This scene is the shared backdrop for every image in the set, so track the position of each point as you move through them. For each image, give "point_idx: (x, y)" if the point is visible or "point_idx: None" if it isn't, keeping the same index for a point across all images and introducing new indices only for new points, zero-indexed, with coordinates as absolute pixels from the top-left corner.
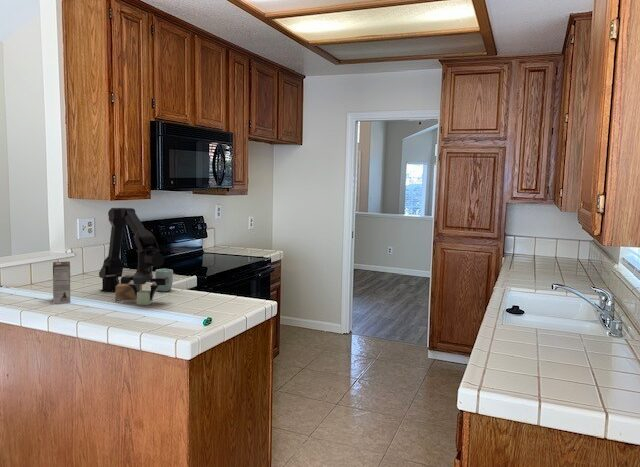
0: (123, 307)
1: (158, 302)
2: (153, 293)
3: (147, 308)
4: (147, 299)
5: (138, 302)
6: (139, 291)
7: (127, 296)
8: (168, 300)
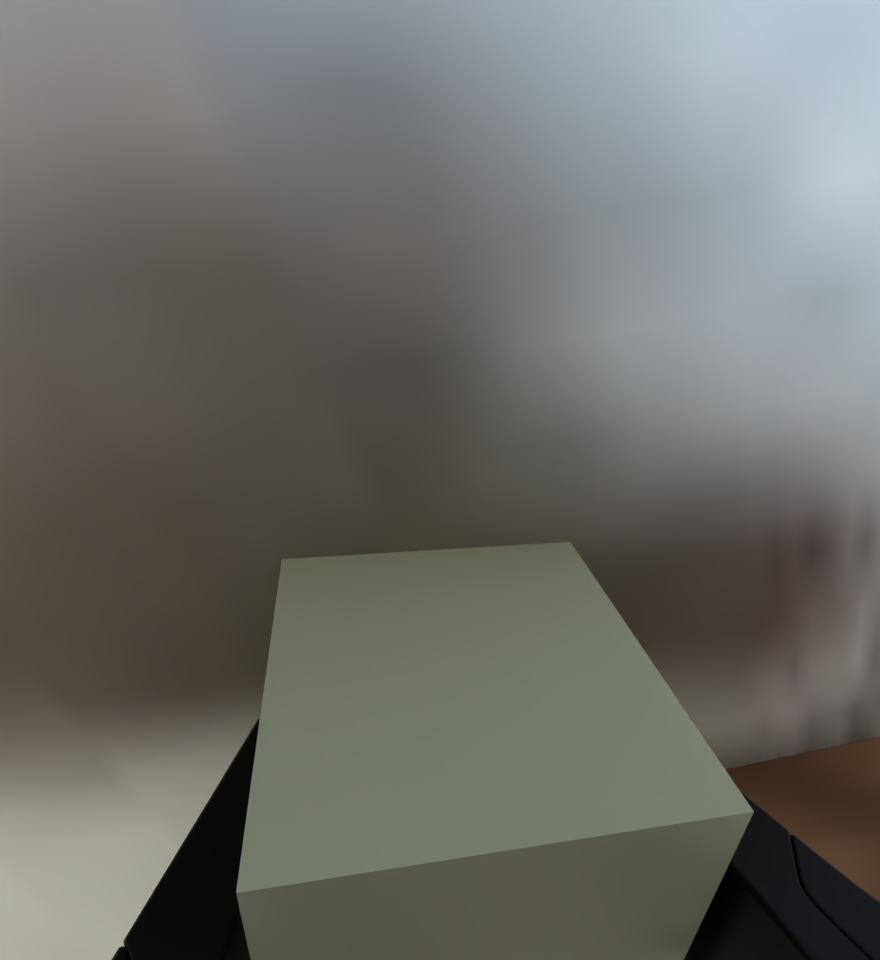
0: (853, 156)
1: (148, 754)
2: (141, 958)
3: (84, 93)
4: (309, 652)
5: (546, 570)
6: (672, 930)
7: (810, 813)
8: (32, 903)
